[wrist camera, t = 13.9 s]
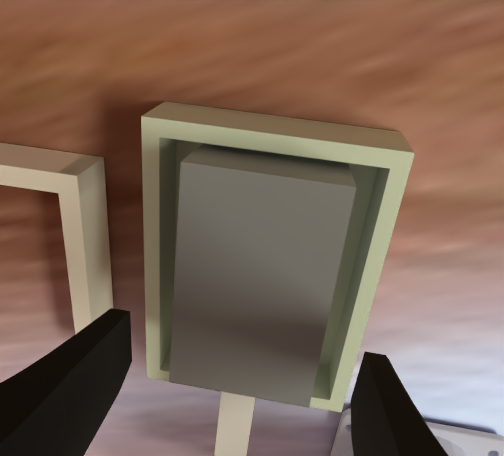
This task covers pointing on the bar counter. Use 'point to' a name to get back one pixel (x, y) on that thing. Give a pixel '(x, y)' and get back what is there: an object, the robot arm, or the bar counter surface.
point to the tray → (284, 142)
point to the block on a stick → (255, 277)
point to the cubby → (71, 218)
